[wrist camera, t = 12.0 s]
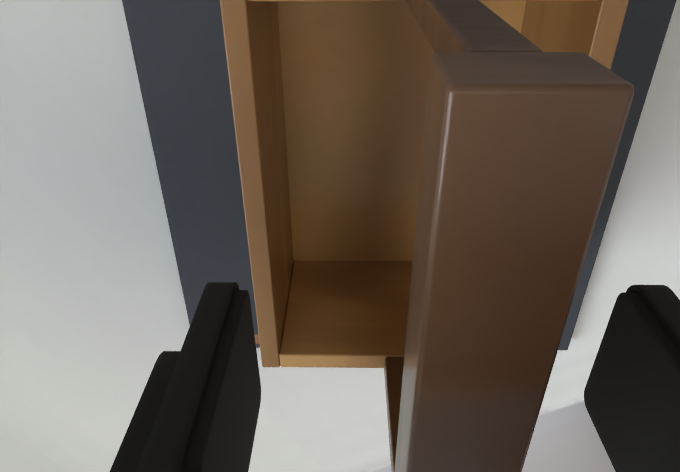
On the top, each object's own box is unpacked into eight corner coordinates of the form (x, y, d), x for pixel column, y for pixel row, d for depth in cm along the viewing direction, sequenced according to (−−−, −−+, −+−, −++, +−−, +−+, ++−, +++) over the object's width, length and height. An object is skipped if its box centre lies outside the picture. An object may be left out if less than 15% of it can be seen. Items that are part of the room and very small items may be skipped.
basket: (281, 263, 23) (206, 664, 11) (257, -51, 16) (7, 84, 4) (490, 265, 23) (646, 672, 11) (548, -52, 16) (1099, 85, 4)
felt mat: (196, 338, 26) (193, 348, 26) (75, -262, 14) (64, -268, 14) (563, 341, 26) (568, 351, 25) (748, -269, 14) (764, -276, 14)
